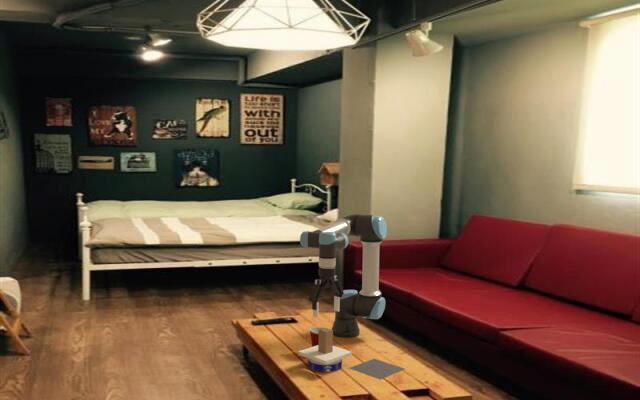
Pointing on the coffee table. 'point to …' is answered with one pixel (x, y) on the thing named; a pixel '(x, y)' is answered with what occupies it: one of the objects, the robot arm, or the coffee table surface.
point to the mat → (377, 368)
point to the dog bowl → (324, 366)
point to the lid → (325, 349)
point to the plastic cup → (315, 335)
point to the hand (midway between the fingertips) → (326, 313)
